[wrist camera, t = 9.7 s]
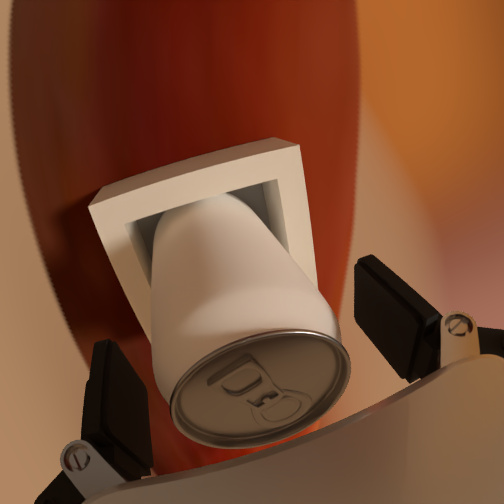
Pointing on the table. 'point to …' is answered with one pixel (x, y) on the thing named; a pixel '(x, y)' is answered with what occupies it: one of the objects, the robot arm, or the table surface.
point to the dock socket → (197, 188)
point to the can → (239, 329)
